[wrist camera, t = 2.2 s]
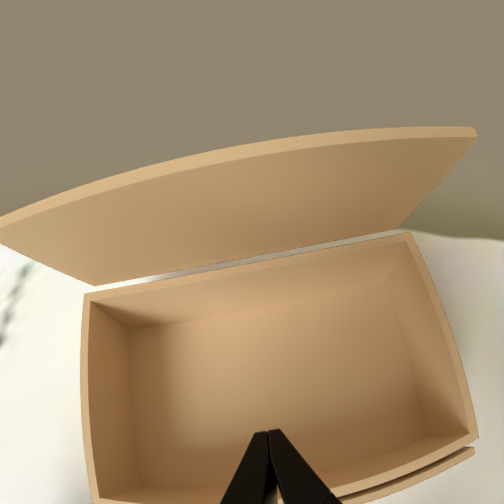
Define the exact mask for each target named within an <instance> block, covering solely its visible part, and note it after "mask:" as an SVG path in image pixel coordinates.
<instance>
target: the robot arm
mask: <svg viewBox="0 0 504 504" xmlns="http://www.w3.org/2000/svg"><path fill="white" fill-rule="evenodd" d="M277 485H278V488H279V492H280V495H281V498H282V501H283V504H343V503H342V502H341V501H340V500H339V499H338V498H337V497H336V496H335V495H334V494H333V492H331V490H330V489H329V488H328V487H327V486H326V485H325V483H324V482H323V481H322V480H321V479H320V477H319V476H318V475H317V474H316V473H315V471H314V470H313V469H312V468H311V467H310V465H309V464H308V463H307V462H306V461H305V459H304V458H303V457H302V456H301V454H300V453H299V452H298V451H297V449H296V448H295V447H294V446H293V444H292V443H291V442H290V441H289V439H288V438H287V437H286V435H285V434H284V433H283V432H282V430H281V429H279V428H277V429H271V430H268V432H267V431H259V432H255V433H254V434H253V436H252V438H251V441H250V443H249V445H248V447H247V449H246V451H245V453H244V455H243V458H242V460H241V462H240V464H239V466H238V468H237V470H236V472H235V474H234V476H233V478H232V480H231V482H230V484H229V486H228V488H227V490H226V492H225V494H224V496H223V498H222V499H221V501H220V503H219V504H278V488H277Z"/></svg>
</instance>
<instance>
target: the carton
mask: <svg viewBox="0 0 504 504" xmlns="http://www.w3.org/2000/svg"><path fill="white" fill-rule="evenodd" d="M80 394H81V416H82V430H83V441H84V451H85V459H86V467H87V474H88V480H89V486H90V492H91V497H92V502H93V504H219V503H220V501H221V499H222V498H223V496H224V494H225V492H226V490H227V488H228V486H229V484H230V482H231V480H232V478H233V476H234V474H235V472H236V470H237V468H238V466H239V464H240V462H241V460H242V458H243V455H244V453H245V451H246V449H247V447H248V445H249V443H250V441H251V438H252V436H253V434H254V433H255V432H259V431H267V432H268V430H271V429H277V428H279V429H281V430H282V432H283V433H284V434H285V435H286V437H287V438H288V439H289V441H290V442H291V443H292V444H293V446H294V447H295V448H296V449H297V451H298V452H299V453H300V454H301V456H302V457H303V458H304V459H305V461H306V462H307V463H308V464H309V465H310V467H311V468H312V469H313V470H314V471H315V473H316V474H317V475H318V476H319V477H320V479H321V480H322V481H323V482H324V483H325V485H326V486H327V487H328V488H329V489H330V490H331V492H333V494H334V495H335V496H336V497H337V498H338V499H339V500H340V501H341V502H342V503H343V504H364V503H367V502H370V501H373V500H376V499H379V498H382V497H385V496H388V495H390V494H393V493H395V492H398V491H401V490H403V489H406V488H408V487H410V486H413V485H415V484H417V483H420V482H422V481H424V480H426V479H428V478H431V477H433V476H435V475H437V474H439V473H441V472H443V471H445V470H447V469H449V468H451V467H452V466H454V465H456V464H458V463H460V462H462V461H463V460H465V459H467V458H469V457H470V456H472V455H474V454H475V453H474V447H464V446H466V445H468V444H469V443H471V442H473V441H474V440H476V439H478V438H479V434H478V429H477V424H476V419H475V414H474V409H473V405H472V400H471V396H470V392H469V388H468V384H467V380H466V377H465V373H464V370H463V366H462V363H461V359H460V356H459V353H458V349H457V346H456V343H455V340H454V337H453V334H452V331H451V328H450V325H449V323H448V320H447V317H446V314H445V312H444V309H443V306H442V304H441V301H440V299H439V296H438V293H437V291H436V288H435V286H434V284H433V281H432V279H431V276H430V274H429V272H428V270H427V267H426V265H425V263H424V260H423V258H422V256H421V254H420V252H419V250H418V247H417V245H416V243H415V241H414V239H413V237H412V235H411V233H410V232H407V233H402V234H397V235H392V236H387V237H382V238H377V239H372V240H367V241H362V242H357V243H352V244H347V245H342V246H337V247H332V248H327V249H322V250H317V251H312V252H307V253H302V254H297V255H291V256H286V257H281V258H276V259H271V260H266V261H260V262H255V263H250V264H245V265H239V266H234V267H229V268H223V269H218V270H213V271H207V272H202V273H197V274H191V275H186V276H180V277H175V278H169V279H164V280H159V281H153V282H147V283H142V284H136V285H131V286H125V287H120V288H114V289H108V290H103V291H97V292H91V293H86V294H84V301H83V312H82V327H81V350H80ZM277 488H278V485H277ZM278 504H283V501H282V498H281V495H280V492H279V488H278Z"/></svg>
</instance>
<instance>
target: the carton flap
mask: <svg viewBox="0 0 504 504" xmlns="http://www.w3.org/2000/svg"><path fill="white" fill-rule="evenodd" d="M477 138H478V135H477V134H476V132H475V130H474V128H473V127H459V126H426V127H425V126H424V127H393V128H376V129H362V130H350V131H339V132H329V133H320V134H312V135H304V136H296V137H290V138H282V139H275V140H269V141H263V142H257V143H251V144H246V145H240V146H235V147H229V148H224V149H219V150H214V151H209V152H205V153H200V154H196V155H191V156H187V157H182V158H179V159H174V160H170V161H166V162H162V163H158V164H154V165H150V166H147V167H143V168H139V169H136V170H132V171H128V172H125V173H122V174H118V175H115V176H112V177H109V178H105V179H102V180H99V181H95V182H92V183H89V184H86V185H83V186H80V187H77V188H74V189H71V190H68V191H65V192H63V193H60V194H57V195H55V196H52V197H49V198H46V199H44V200H41V201H38V202H36V203H33V204H31V205H28V206H26V207H23V208H21V209H18V210H16V211H13V212H11V213H9V214H6V215H4V216H2V217H0V244H2V245H4V246H6V247H8V248H10V249H12V250H14V251H16V252H18V253H20V254H22V255H25V256H27V257H29V258H31V259H33V260H35V261H37V262H40V263H42V264H44V265H46V266H48V267H51V268H53V269H55V270H57V271H60V272H62V273H64V274H67V275H69V276H71V277H74V278H76V279H78V280H81V281H83V282H86V283H88V284H91V285H93V286H99V285H104V284H109V283H115V282H120V281H126V280H131V279H136V278H142V277H147V276H152V275H158V274H163V273H169V272H174V271H179V270H184V269H190V268H195V267H200V266H206V265H211V264H216V263H222V262H227V261H232V260H237V259H243V258H248V257H253V256H258V255H264V254H269V253H274V252H279V251H285V250H290V249H295V248H300V247H305V246H310V245H316V244H321V243H326V242H331V241H336V240H341V239H347V238H352V237H357V236H362V235H367V234H372V233H377V232H383V231H388V230H393V229H397V228H398V227H399V226H400V225H401V224H402V222H403V221H404V220H405V219H406V218H407V217H408V216H409V215H410V214H411V213H412V212H413V211H414V210H415V209H416V208H417V207H418V206H419V205H420V204H421V203H422V202H423V200H424V199H425V198H426V197H427V196H428V195H429V194H430V193H431V192H432V190H434V188H435V187H436V186H437V185H438V184H439V183H440V182H441V180H442V179H443V178H444V177H445V176H446V175H447V174H448V173H449V172H450V170H451V169H452V168H453V167H454V166H455V165H456V163H457V162H458V161H459V160H460V159H461V158H462V156H463V155H464V154H465V153H466V152H467V150H468V149H469V148H470V147H471V146H472V144H473V143H474V142H475V141H476V139H477Z"/></svg>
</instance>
